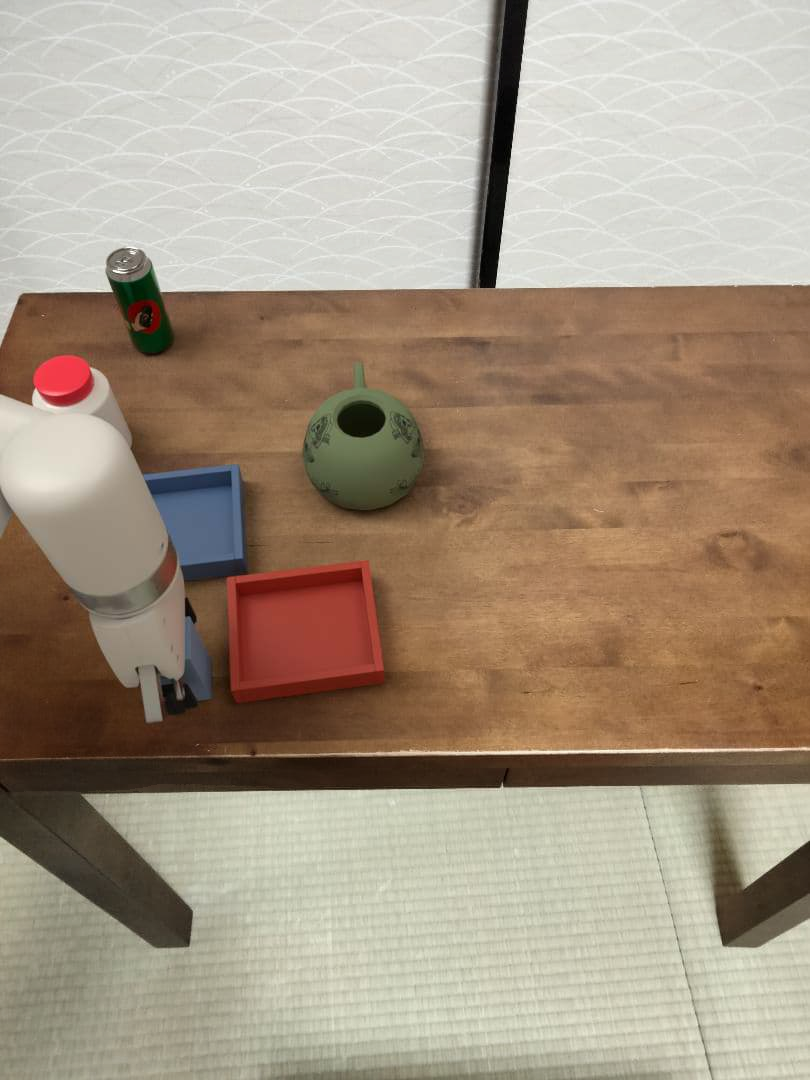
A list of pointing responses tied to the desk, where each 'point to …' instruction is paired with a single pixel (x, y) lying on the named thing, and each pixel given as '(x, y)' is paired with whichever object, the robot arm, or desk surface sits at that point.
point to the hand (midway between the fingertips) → (179, 663)
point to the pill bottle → (77, 392)
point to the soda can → (139, 299)
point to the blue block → (195, 664)
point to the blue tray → (204, 518)
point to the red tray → (303, 631)
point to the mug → (363, 447)
